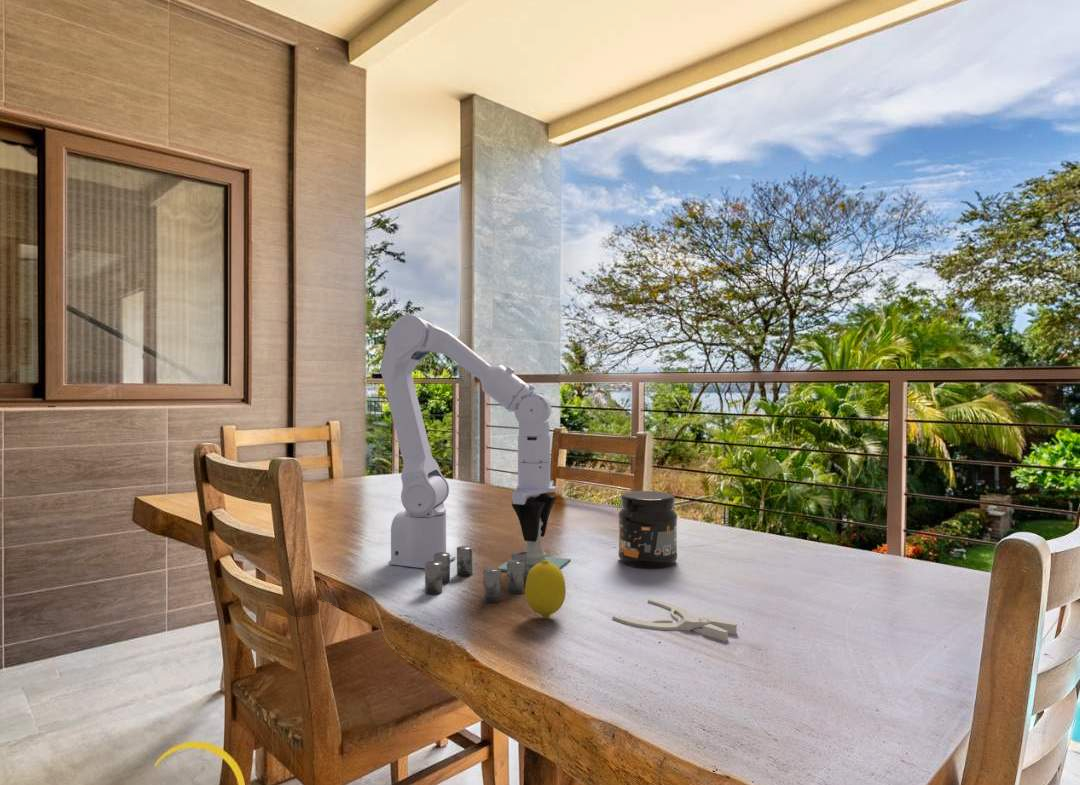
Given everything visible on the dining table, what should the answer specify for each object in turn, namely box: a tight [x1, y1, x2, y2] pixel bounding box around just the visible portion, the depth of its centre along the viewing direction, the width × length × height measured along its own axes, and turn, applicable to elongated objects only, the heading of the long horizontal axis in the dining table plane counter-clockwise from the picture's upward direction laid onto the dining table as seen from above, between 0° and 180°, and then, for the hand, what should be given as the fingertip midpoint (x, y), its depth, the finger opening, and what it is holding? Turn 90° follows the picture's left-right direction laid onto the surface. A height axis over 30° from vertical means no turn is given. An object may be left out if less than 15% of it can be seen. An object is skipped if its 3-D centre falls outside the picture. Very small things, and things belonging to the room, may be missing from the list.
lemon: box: [524, 560, 567, 619], centre depth 88 cm, size 6×6×8 cm
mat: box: [497, 556, 571, 575], centre depth 113 cm, size 10×10×1 cm
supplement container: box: [617, 490, 678, 569], centre depth 116 cm, size 10×10×12 cm
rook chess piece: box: [523, 518, 547, 566], centre depth 113 cm, size 4×4×8 cm
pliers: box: [612, 598, 738, 642], centre depth 86 cm, size 10×2×15 cm
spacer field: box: [424, 545, 528, 604], centre depth 102 cm, size 16×13×4 cm
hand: (534, 538), depth 113 cm, fingers closed on rook chess piece, 3 cm apart
